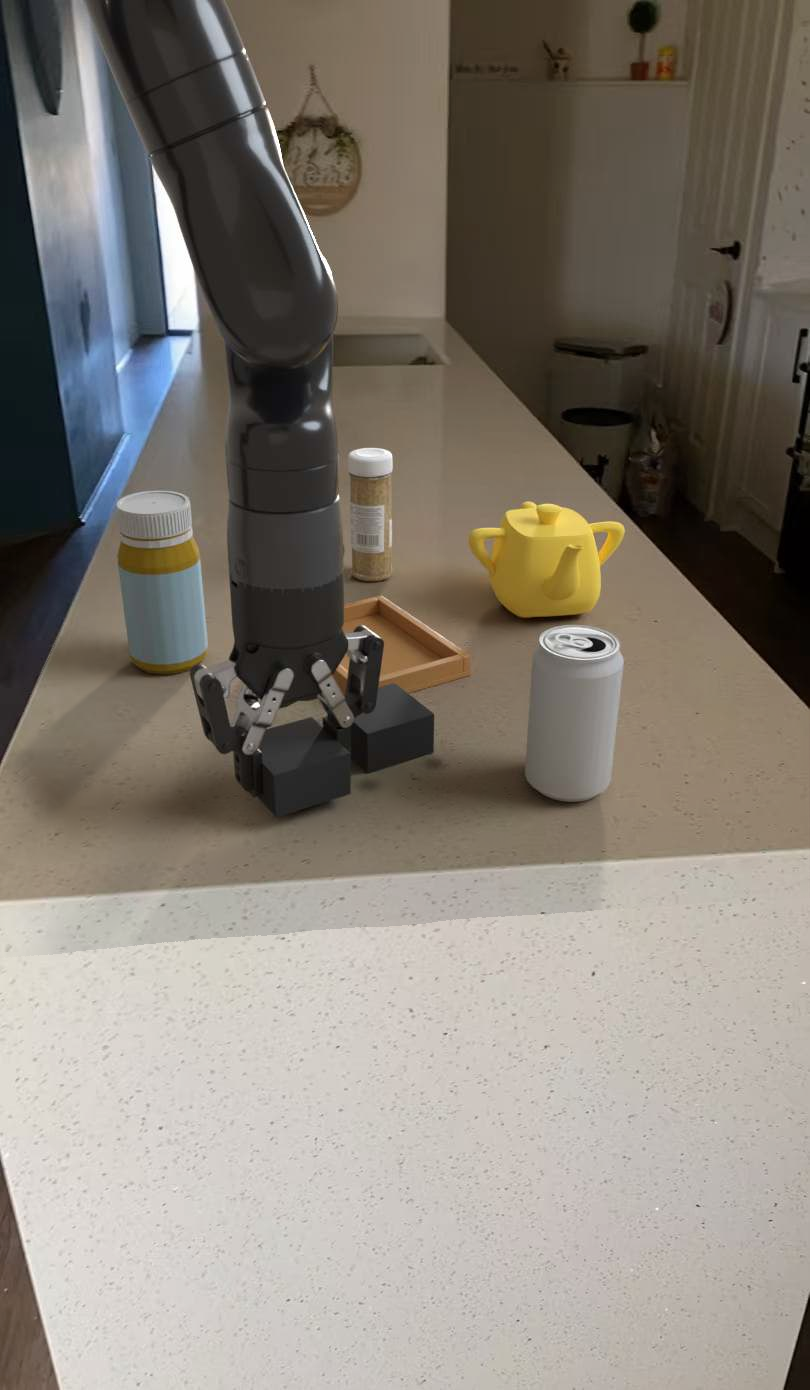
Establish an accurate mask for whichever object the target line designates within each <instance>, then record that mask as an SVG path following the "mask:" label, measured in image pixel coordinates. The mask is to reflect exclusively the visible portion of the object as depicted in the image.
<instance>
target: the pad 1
mask: <svg viewBox="0 0 810 1390" xmlns="http://www.w3.org/2000/svg"><path fill="white" fill-rule="evenodd" d="M258 749H259V750H260V751H261V752H262V775H263V795H260V796H256V798H258V799H259V800H260V801H261V803H262V804H263V805H264V806H265V807H266V808H267V809H268V810H269V812H270V813H271V814H272V815H273V816H274V817H275V818H279V817H282V816H286V815H288V814H292V813H294V812H298V811H302V810H304V809H307V808H310V807H314V806H317V805H320V804H323V803H326V802H330V801H332V800H335V799H339V798H342V797H345V796H349V795H351V793H352V791H351V790H352V789H351V785H352V784H351V757H350V752H349V751H348V750H347V749H345V748H344V747H343V746H342V745H341V744H340V743H339V742H338V741H336V740H335V739H334V738H333V737H332V736H331V735H330V734H329V733H328V732H327V731H326V730H325V729H324V728H323V725H321V724H320V723H319V722H318V721H317V720H316V719H314V718H313V716H310V717H306V718H302V719H300V720H296V721H291V722H288V723H284V724H281V725H277V726H274V727H269V728H266V730H265V733H264V735H263V738H262V740H261V743H260V745H259V748H258Z"/></svg>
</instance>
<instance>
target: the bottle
mask: <svg viewBox="0 0 810 1390" xmlns="http://www.w3.org/2000/svg"><path fill="white" fill-rule="evenodd" d="M115 510H116V518H117V526H118V529H119V532H118V533H119V540H120V543H119V547H118V551H117V554H116V556H117V566H118V574H119V582H120V589H121V590H120V591H121V597H122V599H121V600H122V605H123V606H122V607H123V612H124V613H123V614H124V621H125V622H124V623H125V629H126V636H127V646H128V653H129V657H130V661H131V662H132V663H133V664H134V665H135V666H136V667H138V668H139V669H140V670H141V671H144V672H146V673H149V674H154V675H174V674H175V675H176V674H181V673H184V672H187V671H190V670H191V669H192V667H193V666H195V665H197V664H202V662H203V661H204V660H205V658H206V657H207V655H208V652H209V648H208V642H209V641H208V631H207V621H206V620H207V619H206V610H205V609H206V608H205V599H204V598H205V597H204V586H203V576H202V563H201V562H202V561H201V556H200V555H201V554H200V550H199V546H198V544H197V543H196V541H195V538H194V536H193V525H192V523H193V521H192V520H193V519H192V508H191V501H190V498H189V496H187V495H186V494H183V493H181V492H177V491H171V490H146V491H140V492H134V493H131V494H127V495H125V496H123V497H121V498H119V500H117V502H116V505H115Z"/></svg>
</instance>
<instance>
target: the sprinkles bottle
mask: <svg viewBox="0 0 810 1390" xmlns="http://www.w3.org/2000/svg"><path fill="white" fill-rule="evenodd" d="M393 464H394V462H393V454H392V453H391V451H390V450H387V449H384V448H378V447H363V448H357V449H354V450H352V451H350V452H349V454H348V455H347V468H348V469H347V470H348V475H349V480H350V481H349V489H350V490H349V491H350V494H349V495H350V498H349V509H350V510H349V511H350V513H349V516H350V546H351V569H350V573H351V576H352V577H354V578H355V579H357V580H360V581H363V582H381V581H383V580H384V581H385V580H387V579H388V578H390V577H391V576H392V575H393V571H394V570H393V567H392V562H393V561H392V546H393V521H392V481H391V480H392V472H393V471H394V470H393V468H394V467H393Z"/></svg>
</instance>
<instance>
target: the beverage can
mask: <svg viewBox="0 0 810 1390" xmlns="http://www.w3.org/2000/svg"><path fill="white" fill-rule="evenodd" d="M620 648H621V642H620V640H619V639H618V638H617V636H616V635H614V634H613V633H611V632H609V631H607V630H605V629H602V628H600V627H595V626H590V625H584V624H565V625H560V626H559V625H558V626H554V627H551V628H549V629H547V630H544V631H543V632H542V633H541V634H540V636H539V639H538V645H537V646H536V647H535V649H534V650H533V652H532V662H531V677H530V691H529V707H528V720H527V721H528V722H527V735H526V752H525V764H524V765H525V766H524V767H525V768H524V775H525V779H526V780H527V782H528V783H529V784H530V786H532V788H533V789H535V790H537V791H538V792H539V793H540V794H542V795H543V796H545V797H547V798H550V799H552V800H555V801H560V802H567V803H579V802H584V801H588V800H591V799H593V798H595V797H596V796H598V795H600V794H602V793H603V792H605V791H606V790H607V789H608V787H609V786H610V783H611V781H612V780H611V779H612V773H613V772H612V771H613V762H614V753H615V743H616V734H617V727H618V726H617V725H618V718H619V717H618V716H619V708H620V699H621V690H622V682H623V681H622V680H623V673H624V663H625V661H624V660H625V659H624V656H623V655H622V653H621V649H620Z"/></svg>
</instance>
